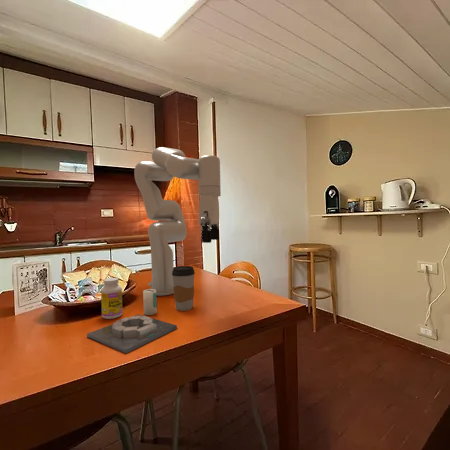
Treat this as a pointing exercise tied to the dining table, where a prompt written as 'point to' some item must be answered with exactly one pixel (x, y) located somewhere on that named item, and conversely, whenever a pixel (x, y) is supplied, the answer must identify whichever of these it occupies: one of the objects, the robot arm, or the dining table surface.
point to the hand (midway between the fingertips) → (210, 241)
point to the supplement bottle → (111, 299)
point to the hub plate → (132, 341)
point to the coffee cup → (183, 287)
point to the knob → (150, 301)
